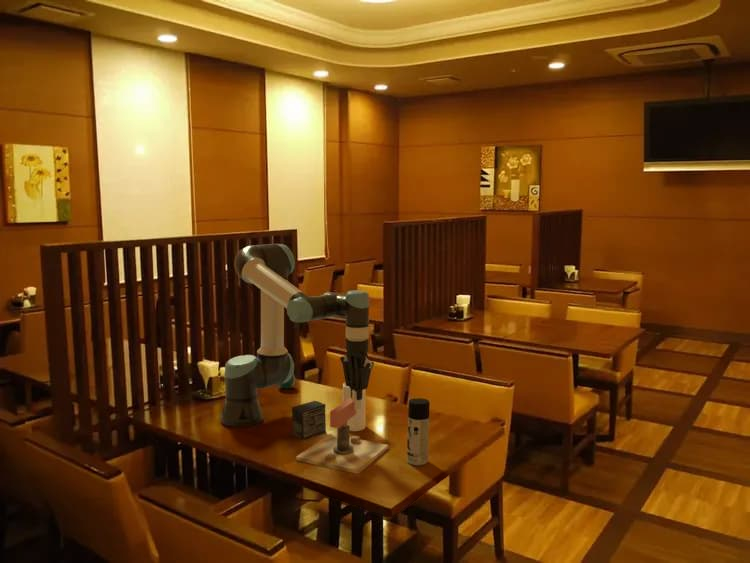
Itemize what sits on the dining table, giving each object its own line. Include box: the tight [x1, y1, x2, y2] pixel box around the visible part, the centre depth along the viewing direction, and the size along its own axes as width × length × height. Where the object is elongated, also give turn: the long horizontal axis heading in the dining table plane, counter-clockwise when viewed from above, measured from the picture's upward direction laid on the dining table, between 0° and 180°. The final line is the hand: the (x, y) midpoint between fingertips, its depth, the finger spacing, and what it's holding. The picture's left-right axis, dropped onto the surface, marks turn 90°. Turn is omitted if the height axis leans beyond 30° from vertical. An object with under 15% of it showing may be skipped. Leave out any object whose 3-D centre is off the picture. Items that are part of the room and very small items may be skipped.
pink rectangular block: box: [329, 398, 356, 429], centre depth 205 cm, size 14×3×7 cm, turn 157°
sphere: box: [278, 373, 296, 390], centre depth 274 cm, size 8×8×8 cm
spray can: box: [406, 397, 430, 467], centre depth 201 cm, size 7×7×20 cm
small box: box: [291, 400, 327, 441], centre depth 223 cm, size 11×6×10 cm, turn 135°
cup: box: [342, 382, 367, 432], centre depth 230 cm, size 8×8×16 cm
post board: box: [295, 425, 389, 475], centre depth 206 cm, size 22×22×9 cm
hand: (356, 408), depth 209 cm, fingers closed
